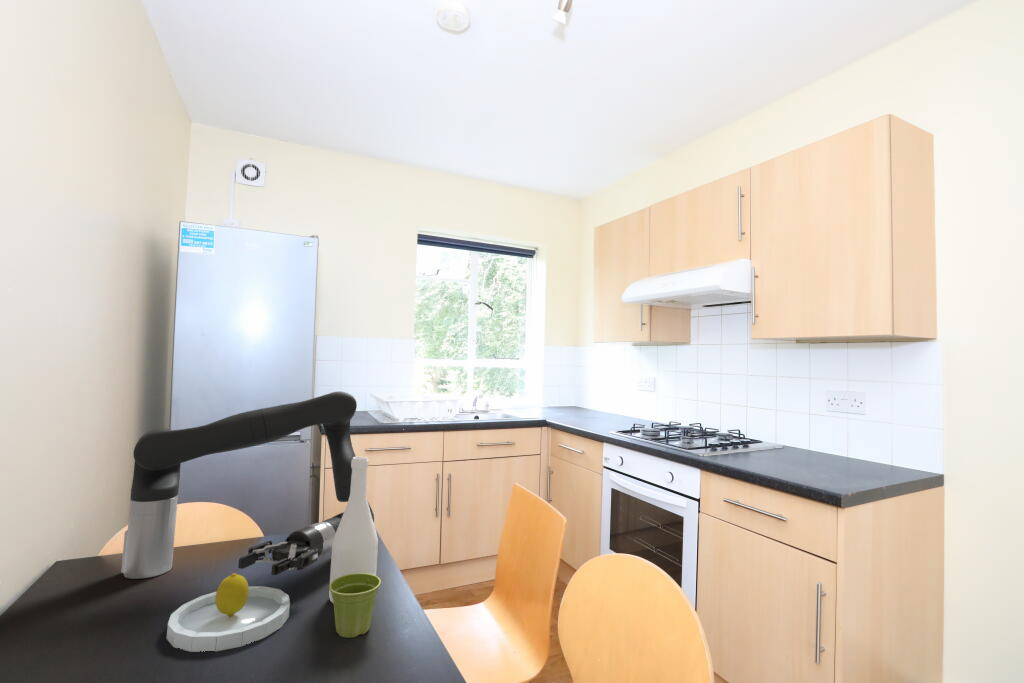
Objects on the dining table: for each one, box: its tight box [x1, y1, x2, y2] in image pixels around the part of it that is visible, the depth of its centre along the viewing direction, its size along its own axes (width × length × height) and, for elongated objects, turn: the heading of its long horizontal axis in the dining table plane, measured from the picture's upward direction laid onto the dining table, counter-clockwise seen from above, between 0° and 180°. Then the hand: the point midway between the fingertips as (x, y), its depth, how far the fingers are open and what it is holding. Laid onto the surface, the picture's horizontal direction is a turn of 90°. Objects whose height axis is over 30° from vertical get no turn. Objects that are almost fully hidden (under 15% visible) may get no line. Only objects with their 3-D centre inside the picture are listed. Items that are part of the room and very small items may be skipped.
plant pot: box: [328, 573, 382, 639], centre depth 93 cm, size 9×9×9 cm
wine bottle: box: [328, 456, 379, 605], centre depth 106 cm, size 10×10×30 cm
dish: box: [166, 585, 291, 653], centre depth 93 cm, size 20×20×2 cm
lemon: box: [216, 572, 249, 617], centre depth 94 cm, size 6×6×8 cm
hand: (256, 567), depth 99 cm, fingers open, 8 cm apart
